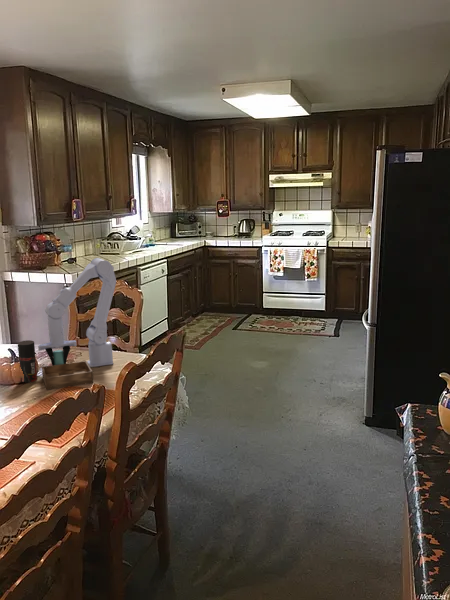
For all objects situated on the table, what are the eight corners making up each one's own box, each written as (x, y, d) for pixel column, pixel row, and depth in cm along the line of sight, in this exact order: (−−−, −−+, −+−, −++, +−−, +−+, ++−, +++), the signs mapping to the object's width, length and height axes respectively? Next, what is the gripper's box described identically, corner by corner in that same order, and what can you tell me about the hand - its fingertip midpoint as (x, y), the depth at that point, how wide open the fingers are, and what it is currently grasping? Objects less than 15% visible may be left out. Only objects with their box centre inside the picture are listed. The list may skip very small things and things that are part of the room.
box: (87, 371, 211) (86, 360, 210) (93, 382, 198) (92, 371, 198) (42, 377, 204) (41, 367, 203) (46, 390, 192) (45, 378, 191)
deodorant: (32, 383, 199) (28, 345, 196) (17, 382, 200) (14, 344, 197) (40, 377, 205) (37, 340, 201) (26, 376, 206) (23, 339, 202)
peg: (64, 368, 215) (62, 349, 213) (65, 371, 211) (63, 352, 210) (53, 369, 213) (52, 351, 212) (54, 372, 210) (53, 353, 208)
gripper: (38, 337, 203) (41, 370, 206) (76, 332, 208) (78, 365, 211) (36, 332, 209) (39, 365, 212) (74, 328, 215) (76, 360, 218)
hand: (59, 364), depth 212 cm, fingers closed on peg, 4 cm apart
